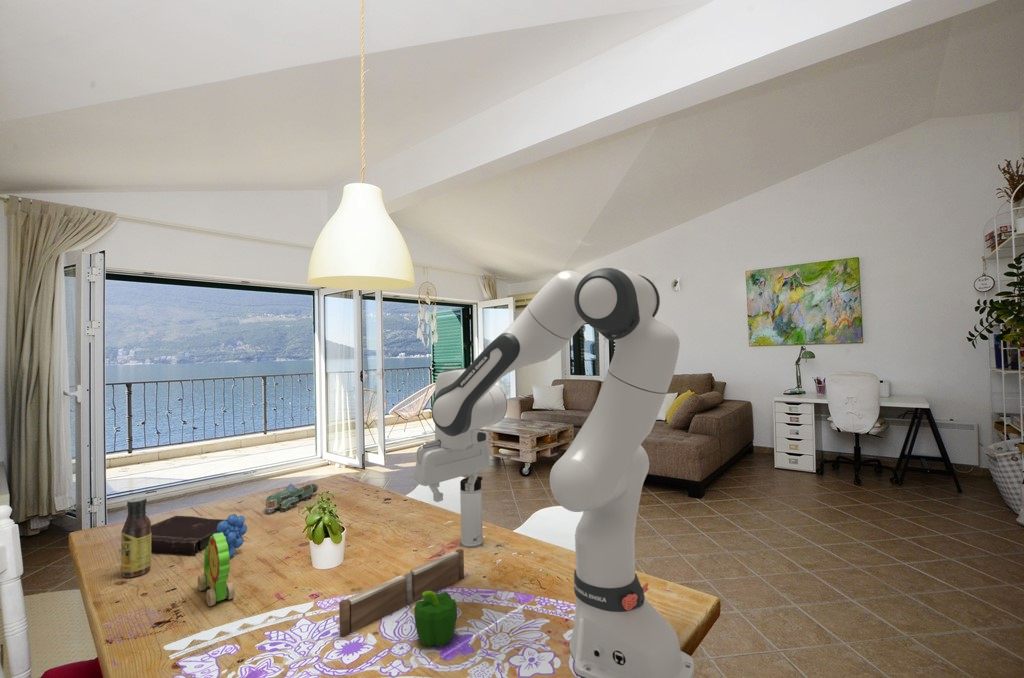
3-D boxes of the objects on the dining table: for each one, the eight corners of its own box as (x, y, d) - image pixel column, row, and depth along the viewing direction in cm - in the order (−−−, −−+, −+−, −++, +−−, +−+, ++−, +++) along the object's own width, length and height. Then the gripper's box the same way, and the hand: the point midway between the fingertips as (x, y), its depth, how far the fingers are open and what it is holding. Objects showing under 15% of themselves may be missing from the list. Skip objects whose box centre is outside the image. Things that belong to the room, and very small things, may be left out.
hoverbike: (256, 514, 169) (256, 491, 170) (308, 493, 193) (308, 473, 193) (276, 516, 166) (276, 493, 166) (327, 495, 190) (326, 475, 190)
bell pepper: (459, 627, 97) (458, 578, 97) (456, 652, 88) (454, 599, 89) (418, 628, 96) (417, 580, 97) (411, 654, 88) (410, 601, 88)
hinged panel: (465, 577, 116) (465, 550, 117) (415, 602, 106) (415, 572, 106) (460, 574, 118) (460, 548, 118) (410, 598, 107) (410, 569, 107)
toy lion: (196, 588, 116) (195, 526, 116) (221, 580, 119) (220, 520, 120) (211, 613, 104) (210, 544, 105) (238, 603, 108) (237, 537, 108)
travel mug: (480, 550, 133) (479, 480, 134) (458, 549, 134) (457, 479, 135) (486, 541, 139) (484, 474, 140) (465, 540, 141) (463, 473, 141)
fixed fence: (414, 604, 105) (413, 574, 105) (342, 639, 93) (342, 605, 93) (409, 600, 107) (408, 571, 107) (338, 635, 94) (337, 602, 94)
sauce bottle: (119, 574, 124) (119, 499, 125) (148, 565, 129) (148, 493, 129) (123, 582, 120) (123, 504, 120) (153, 573, 124) (153, 498, 125)
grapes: (235, 548, 139) (235, 507, 140) (252, 550, 137) (252, 509, 137) (198, 565, 128) (197, 521, 129) (216, 568, 126) (215, 523, 126)
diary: (193, 559, 134) (193, 542, 134) (122, 554, 139) (121, 537, 139) (242, 533, 152) (242, 517, 152) (178, 529, 157) (177, 514, 157)
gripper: (425, 446, 100) (426, 511, 100) (493, 432, 115) (494, 488, 115) (408, 442, 104) (409, 504, 104) (476, 429, 119) (477, 483, 119)
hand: (454, 495), depth 110 cm, fingers open, 8 cm apart
